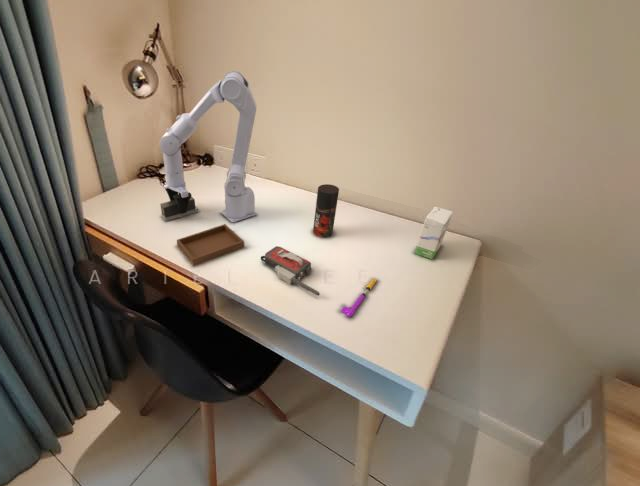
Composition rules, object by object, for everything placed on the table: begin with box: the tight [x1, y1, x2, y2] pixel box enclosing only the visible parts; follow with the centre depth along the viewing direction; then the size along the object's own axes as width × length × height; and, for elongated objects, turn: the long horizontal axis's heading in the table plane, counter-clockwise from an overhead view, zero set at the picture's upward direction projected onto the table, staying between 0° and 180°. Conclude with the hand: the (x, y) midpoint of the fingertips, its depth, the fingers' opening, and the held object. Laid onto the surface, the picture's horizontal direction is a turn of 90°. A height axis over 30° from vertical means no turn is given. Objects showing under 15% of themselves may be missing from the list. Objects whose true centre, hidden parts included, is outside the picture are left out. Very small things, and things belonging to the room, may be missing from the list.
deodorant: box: [312, 183, 340, 239], centre depth 105 cm, size 6×6×15 cm
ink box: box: [414, 206, 454, 260], centre depth 98 cm, size 8×5×12 cm, turn 140°
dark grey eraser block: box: [159, 195, 199, 222], centre depth 119 cm, size 12×4×5 cm, turn 121°
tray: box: [176, 223, 245, 267], centre depth 104 cm, size 16×11×2 cm
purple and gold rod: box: [340, 278, 377, 318], centre depth 86 cm, size 3×1×16 cm
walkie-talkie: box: [260, 246, 320, 296], centre depth 92 cm, size 9×4×20 cm
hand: (179, 208), depth 120 cm, fingers open, 7 cm apart
